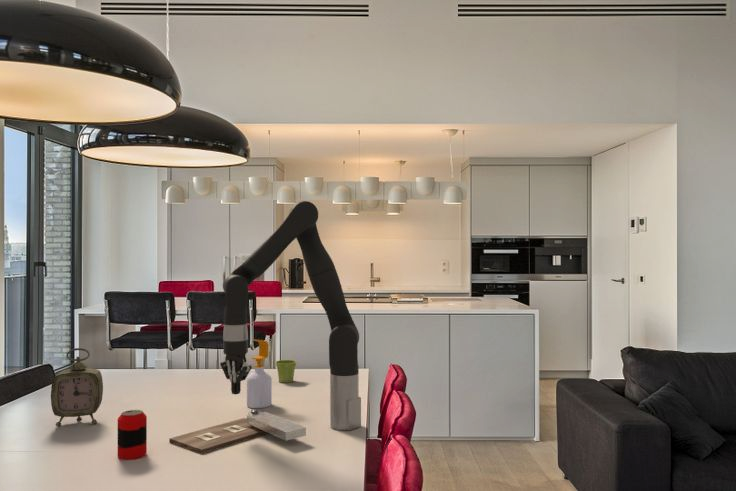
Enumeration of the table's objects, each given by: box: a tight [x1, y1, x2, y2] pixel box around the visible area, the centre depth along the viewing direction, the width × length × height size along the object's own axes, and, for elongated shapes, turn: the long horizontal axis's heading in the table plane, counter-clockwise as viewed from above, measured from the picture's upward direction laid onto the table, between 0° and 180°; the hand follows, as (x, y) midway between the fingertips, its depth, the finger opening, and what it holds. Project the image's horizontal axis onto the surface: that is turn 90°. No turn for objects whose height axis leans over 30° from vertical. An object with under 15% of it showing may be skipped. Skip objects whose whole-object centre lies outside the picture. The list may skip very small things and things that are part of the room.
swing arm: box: [246, 409, 307, 442], centre depth 185 cm, size 7×26×3 cm, turn 41°
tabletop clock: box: [50, 347, 104, 428], centre depth 198 cm, size 14×9×25 cm, turn 105°
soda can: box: [117, 409, 148, 461], centre depth 167 cm, size 8×8×12 cm
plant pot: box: [275, 359, 298, 384], centre depth 261 cm, size 9×9×9 cm
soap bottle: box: [246, 338, 273, 409], centre depth 220 cm, size 9×9×25 cm
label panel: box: [168, 417, 269, 455], centre depth 184 cm, size 16×28×2 cm, turn 141°
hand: (235, 393), depth 187 cm, fingers closed
